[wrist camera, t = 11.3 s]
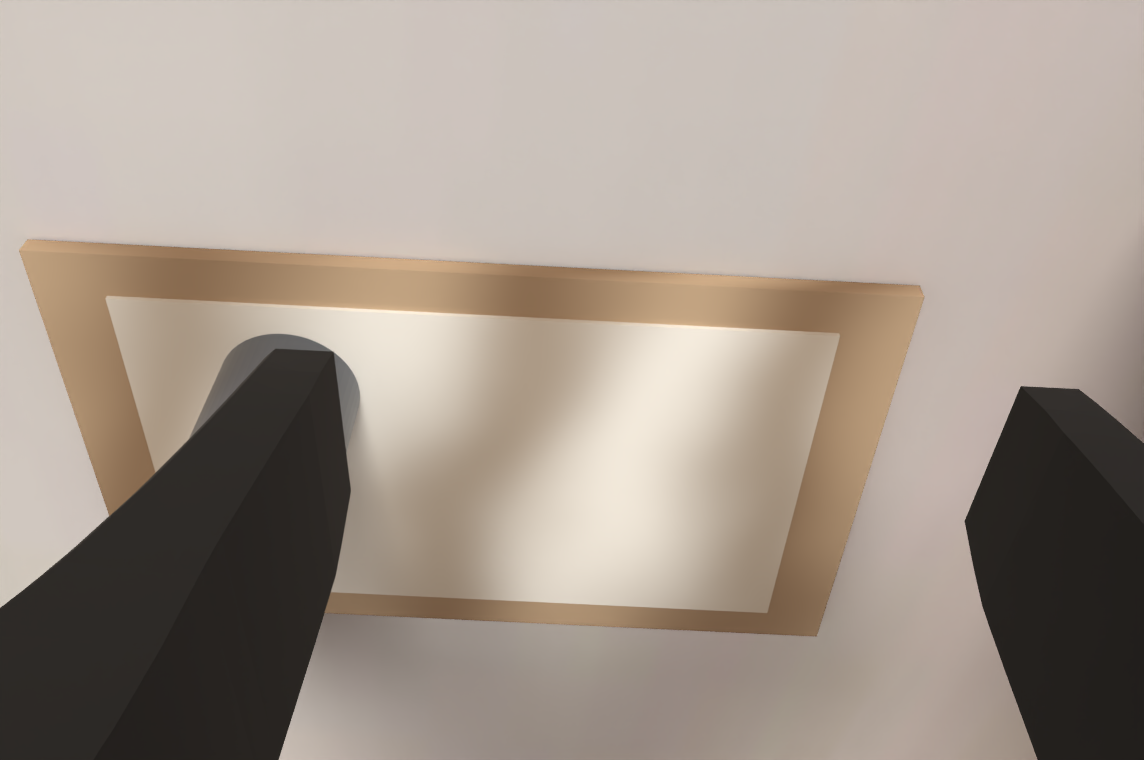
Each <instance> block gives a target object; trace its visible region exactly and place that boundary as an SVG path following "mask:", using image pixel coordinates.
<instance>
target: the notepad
mask: <svg viewBox="0 0 1144 760" xmlns="http://www.w3.org/2000/svg"><path fill="white" fill-rule="evenodd" d="M19 252H20V254H21V257H22V260H23V263H24V266H25V269H26V272H27V275H28V278H29V281H30V284H31V287H32V290H33V293H34V296H35V299H36V302H37V304H38V307H39V310H40V313H41V316H42V319H43V322H44V325H45V328H46V331H47V334H48V337H49V340H50V343H51V346H52V349H53V351H54V354H55V357H56V360H57V363H58V366H59V369H60V372H61V375H62V378H63V381H64V384H65V387H66V390H67V393H68V396H69V399H70V401H71V404H72V407H73V410H74V413H75V416H76V419H77V422H78V425H79V428H80V431H81V434H82V437H83V440H84V443H85V446H86V448H87V451H88V454H89V457H90V460H91V463H92V466H93V469H94V472H95V475H96V478H97V481H98V484H99V487H100V490H101V493H102V496H103V498H104V501H105V504H106V507H107V510H108V513H109V516H110V515H111V514H112V513H113V512H114V511H116V510H117V509H118V508H119V507H120V506H121V505H122V504H123V503H124V502H125V501H127V500H128V499H129V498H130V497H131V496H132V495H133V494H134V493H135V492H136V491H137V490H138V489H139V488H140V487H141V486H143V485H144V484H145V483H146V482H147V481H148V480H149V479H150V478H151V477H152V476H153V475H154V474H155V473H156V472H157V471H158V470H159V469H160V468H161V467H162V466H163V465H164V464H165V463H166V462H167V461H168V460H169V459H170V458H171V457H172V456H173V455H174V454H175V453H176V452H177V451H178V450H179V449H180V448H181V447H182V446H183V445H184V444H185V443H186V442H187V441H188V440H189V437H190V435H191V433H192V431H193V429H194V426H195V424H196V422H197V420H198V417H199V415H200V413H201V411H202V408H203V406H204V404H205V402H206V400H207V397H208V395H209V393H210V391H211V388H212V386H213V384H214V382H215V380H216V377H217V375H218V373H219V371H220V368H221V366H222V364H223V362H224V360H225V358H226V357H227V355H228V354H229V353H230V352H231V350H232V349H234V348H235V347H236V346H237V345H239V344H240V343H242V342H244V341H245V340H248V339H250V338H253V337H256V336H260V335H266V334H290V335H296V336H300V337H304V338H307V339H310V340H313V341H315V342H317V343H319V344H321V345H323V346H325V347H327V348H328V349H330V350H331V351H333V352H334V353H336V354H337V355H338V356H339V357H340V358H341V359H342V360H343V361H344V362H345V363H346V364H347V365H348V366H349V368H350V369H351V370H352V372H353V374H354V376H355V378H356V380H357V383H358V386H359V390H360V403H359V408H358V411H357V415H356V419H355V423H354V426H353V430H352V434H351V438H350V441H349V445H348V449H347V453H346V455H347V463H348V471H349V479H350V487H351V494H350V500H349V506H348V511H347V517H346V523H345V529H344V535H343V540H342V546H341V551H340V556H339V561H338V567H337V572H336V576H335V580H334V583H333V586H332V590H331V593H330V597H329V600H328V603H327V606H326V610H325V613H336V614H357V615H378V616H399V617H420V618H441V619H462V620H483V621H504V622H525V623H546V624H568V625H589V626H610V627H631V628H652V629H673V630H694V631H715V632H736V633H757V634H778V635H799V636H817V633H818V630H819V627H820V624H821V621H822V618H823V614H824V611H825V608H826V605H827V602H828V599H829V596H830V592H831V589H832V586H833V583H834V580H835V577H836V574H837V570H838V567H839V564H840V561H841V558H842V555H843V552H844V548H845V545H846V542H847V539H848V536H849V533H850V529H851V526H852V523H853V520H854V517H855V514H856V511H857V507H858V504H859V501H860V498H861V495H862V492H863V489H864V485H865V482H866V479H867V476H868V473H869V470H870V467H871V463H872V460H873V457H874V454H875V451H876V448H877V445H878V441H879V438H880V435H881V432H882V429H883V426H884V422H885V419H886V416H887V413H888V410H889V407H890V404H891V400H892V397H893V394H894V391H895V388H896V385H897V382H898V378H899V375H900V372H901V369H902V366H903V363H904V360H905V356H906V353H907V350H908V347H909V344H910V341H911V337H912V334H913V331H914V328H915V325H916V322H917V319H918V315H919V312H920V309H921V306H922V303H923V300H924V295H923V293H922V290H921V288H920V286H914V285H895V284H876V283H857V282H837V281H818V280H799V279H779V278H760V277H741V276H722V275H702V274H683V273H664V272H644V271H625V270H606V269H586V268H567V267H548V266H529V265H509V264H490V263H471V262H451V261H432V260H413V259H394V258H374V257H355V256H336V255H316V254H297V253H278V252H259V251H239V250H220V249H201V248H181V247H162V246H143V245H123V244H104V243H85V242H66V241H46V240H27V241H26V242H25V243H24V245H23V246H22V247H21V248H20V250H19Z"/></svg>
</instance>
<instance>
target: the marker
mask: <svg viewBox="0 0 1144 760" xmlns="http://www.w3.org/2000/svg"><path fill="white" fill-rule="evenodd" d="M274 349H294V350H314V351H331V350H330V349H328V348H327V347H325V346H323V345H321V344H319V343H317V342H315V341H313V340H310V339H307V338H304V337H300V336H296V335H290V334H266V335H260V336H256V337H253V338H250V339H248V340H245V341H244V342H242V343H240V344H239V345H237V346H236V347H235V348H234V349H232V350H231V352H230V353H229V354H228V355H227V357H226V358H225V360H224V362H223V364H222V366H221V368H220V371H219V373H218V375H217V377H216V380H215V382H214V384H213V386H212V388H211V391H210V393H209V395H208V397H207V400H206V402H205V404H204V406H203V408H202V411H201V413H200V415H199V417H198V420H197V422H196V424H195V426H194V429H193V431H192V433H191V435H190V437H189V439H190V438H191V437H192V436H193V434H194V433H195V432H196V431H197V430H198V429H199V428H200V427H201V426H202V425H203V424H204V423H205V422H206V421H207V420H208V419H209V418H210V417H211V415H212V414H213V413H214V412H215V411H216V410H217V409H218V408H219V407H220V406H221V405H222V404H223V403H224V402H225V401H226V399H227V398H228V397H229V396H230V395H231V394H232V393H233V392H234V391H235V390H236V389H237V388H238V386H239V385H240V384H241V383H242V382H243V381H244V380H245V379H246V378H247V377H248V376H249V374H250V373H251V372H252V371H253V370H254V369H255V368H256V367H257V366H258V365H259V364H260V363H261V362H262V360H263V359H264V358H265V357H266V356H267V355H269V354H270V353H271V352H272V351H273V350H274ZM334 358H335V366H336V374H337V382H338V390H339V398H340V406H341V414H342V422H343V430H344V438H345V446H346V453H347V449H348V445H349V441H350V438H351V434H352V430H353V426H354V423H355V419H356V415H357V411H358V408H359V403H360V390H359V386H358V383H357V380H356V378H355V376H354V374H353V372H352V370H351V369H350V368H349V366H348V365H347V364H346V363H345V362H344V361H343V360H342V359H341V358H340V357H339V356H338V355H337V354H336V353H334Z"/></svg>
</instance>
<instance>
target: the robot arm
mask: <svg viewBox="0 0 1144 760" xmlns="http://www.w3.org/2000/svg"><path fill="white" fill-rule="evenodd" d="M350 494H351V487H350V479H349V471H348V463H347V455H346V446H345V438H344V430H343V422H342V414H341V406H340V398H339V390H338V382H337V374H336V366H335V358H334V352H333V351H314V350H294V349H274V350H273V351H272V352H271V353H270V354H269V355H267V356H266V357H265V358H264V359H263V360H262V362H261V363H260V364H259V365H258V366H257V367H256V368H255V369H254V370H253V371H252V372H251V373H250V374H249V376H248V377H247V378H246V379H245V380H244V381H243V382H242V383H241V384H240V385H239V386H238V388H237V389H236V390H235V391H234V392H233V393H232V394H231V395H230V396H229V397H228V398H227V399H226V401H225V402H224V403H223V404H222V405H221V406H220V407H219V408H218V409H217V410H216V411H215V412H214V413H213V414H212V415H211V417H210V418H209V419H208V420H207V421H206V422H205V423H204V424H203V425H202V426H201V427H200V428H199V429H198V430H197V431H196V432H195V433H194V434H193V436H192V437H191V438H190V439H189V440H188V441H187V442H186V443H185V444H184V445H183V446H182V447H181V448H180V449H179V450H178V451H177V452H176V453H175V454H174V455H173V456H172V457H171V458H170V459H169V460H168V461H167V462H166V463H165V464H164V465H163V466H162V467H161V468H160V469H159V470H158V471H157V472H156V473H155V474H154V475H153V476H152V477H151V478H150V479H149V480H148V481H147V482H146V483H145V484H144V485H143V486H141V487H140V488H139V489H138V490H137V491H136V492H135V493H134V494H133V495H132V496H131V497H130V498H129V499H128V500H127V501H125V502H124V503H123V504H122V505H121V506H120V507H119V508H118V509H117V510H116V511H114V512H113V513H112V514H111V515H110V516H109V517H108V518H107V519H106V520H105V521H103V522H102V523H101V524H100V525H99V526H98V527H97V528H96V529H95V530H94V531H92V532H91V533H90V534H89V535H88V536H87V537H86V538H85V539H84V540H83V541H81V542H80V543H79V544H78V545H77V546H76V547H75V548H74V549H72V550H71V551H70V552H69V553H68V554H67V555H65V556H64V557H63V558H62V559H61V560H59V561H58V562H57V563H56V564H55V565H53V566H52V567H51V568H50V569H49V570H47V571H46V572H45V573H44V574H43V575H41V576H40V577H39V578H38V579H36V580H35V581H34V582H33V583H32V584H30V585H29V586H28V587H27V588H25V589H24V590H23V591H22V592H20V593H19V594H18V595H16V596H15V597H14V598H12V599H11V600H10V601H9V602H7V603H6V604H5V605H3V606H2V607H1V608H0V760H279V756H280V753H281V750H282V747H283V744H284V740H285V737H286V734H287V731H288V728H289V725H290V721H291V718H292V715H293V712H294V709H295V705H296V702H297V699H298V696H299V693H300V690H301V686H302V683H303V680H304V677H305V674H306V671H307V667H308V664H309V661H310V658H311V655H312V651H313V648H314V645H315V642H316V639H317V635H318V632H319V629H320V626H321V622H322V619H323V616H324V613H325V610H326V606H327V603H328V600H329V597H330V593H331V590H332V586H333V583H334V580H335V576H336V572H337V567H338V561H339V556H340V551H341V546H342V540H343V535H344V529H345V523H346V517H347V511H348V506H349V500H350ZM965 525H966V530H967V535H968V540H969V546H970V551H971V556H972V561H973V566H974V571H975V575H976V580H977V584H978V589H979V593H980V597H981V602H982V606H983V609H984V612H985V615H986V618H987V621H988V624H989V627H990V630H991V632H992V635H993V638H994V641H995V644H996V646H997V649H998V652H999V655H1000V658H1001V660H1002V663H1003V666H1004V669H1005V672H1006V675H1007V677H1008V680H1009V683H1010V685H1011V688H1012V691H1013V694H1014V696H1015V699H1016V702H1017V704H1018V707H1019V710H1020V713H1021V715H1022V718H1023V721H1024V724H1025V726H1026V729H1027V732H1028V734H1029V737H1030V740H1031V743H1032V745H1033V748H1034V751H1035V754H1036V756H1037V759H1038V760H1144V443H1142V442H1141V441H1140V440H1139V439H1138V438H1137V437H1136V436H1134V435H1133V434H1132V433H1131V432H1130V431H1129V430H1128V429H1126V428H1125V427H1124V426H1123V425H1122V424H1121V423H1120V422H1118V421H1117V420H1116V419H1115V418H1114V417H1112V416H1111V415H1110V414H1109V413H1108V412H1107V411H1105V410H1104V409H1103V408H1102V407H1101V406H1099V405H1098V404H1097V403H1096V402H1094V401H1093V400H1092V399H1091V398H1089V397H1088V396H1087V395H1085V394H1084V393H1083V392H1082V391H1080V390H1079V389H1063V388H1043V387H1024V386H1021V387H1020V390H1019V392H1018V394H1017V397H1016V399H1015V402H1014V404H1013V406H1012V409H1011V411H1010V414H1009V416H1008V418H1007V421H1006V423H1005V426H1004V428H1003V430H1002V433H1001V435H1000V438H999V440H998V442H997V445H996V447H995V450H994V452H993V454H992V457H991V459H990V462H989V464H988V466H987V469H986V471H985V474H984V476H983V478H982V481H981V483H980V486H979V488H978V490H977V493H976V495H975V498H974V500H973V502H972V505H971V507H970V510H969V512H968V514H967V517H966V519H965Z"/></svg>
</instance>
